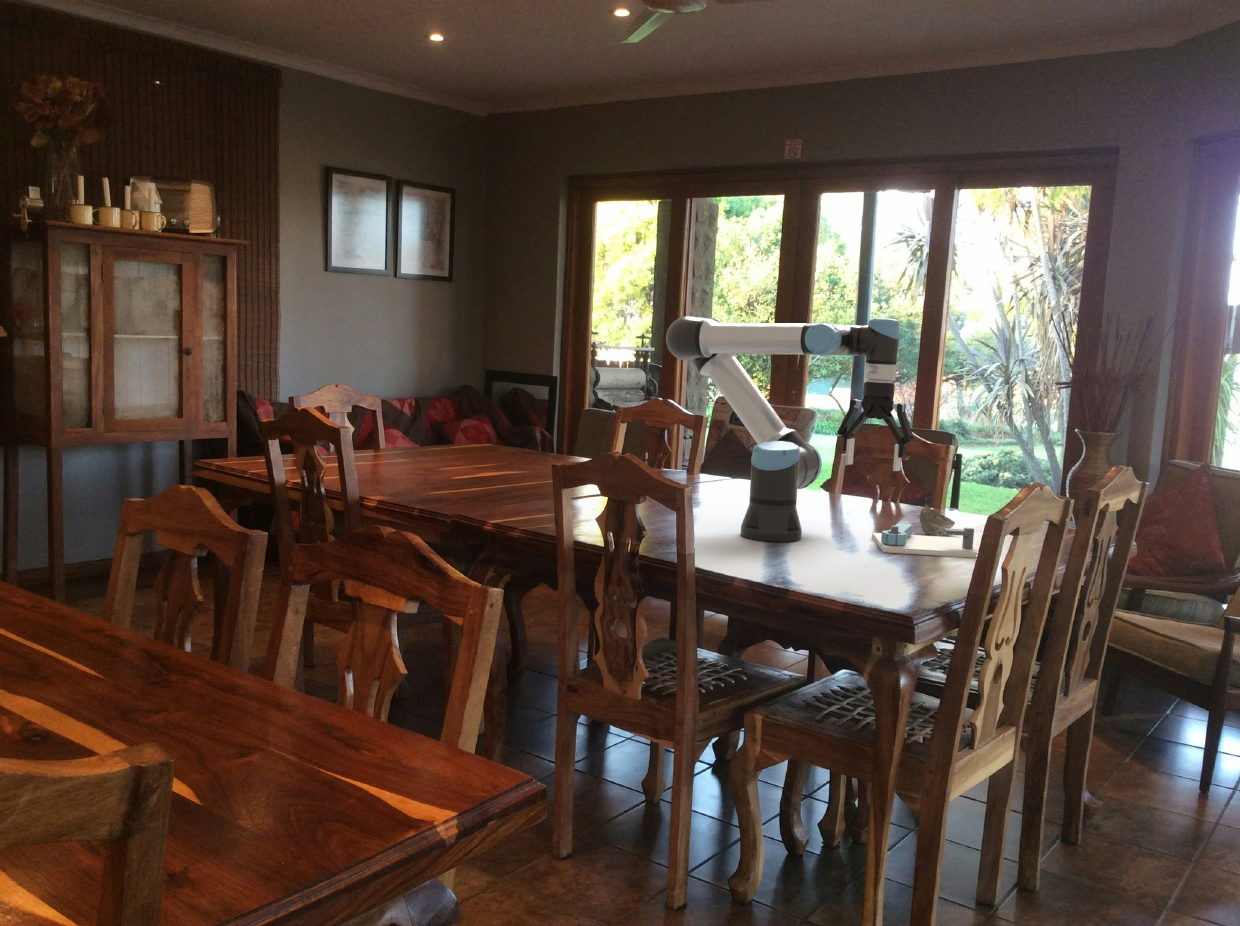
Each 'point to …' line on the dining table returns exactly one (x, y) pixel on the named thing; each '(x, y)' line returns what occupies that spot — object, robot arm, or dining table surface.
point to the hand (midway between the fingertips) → (872, 467)
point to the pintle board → (933, 543)
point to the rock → (934, 522)
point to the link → (897, 535)
